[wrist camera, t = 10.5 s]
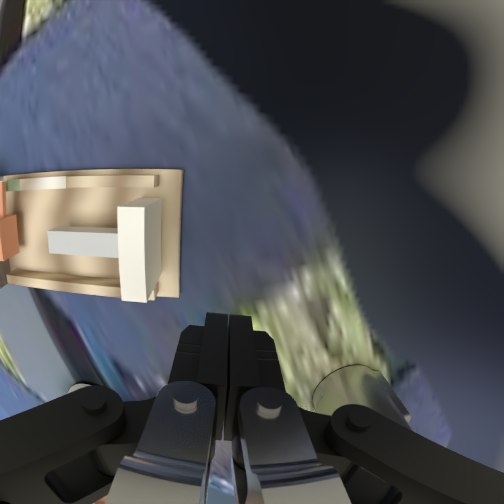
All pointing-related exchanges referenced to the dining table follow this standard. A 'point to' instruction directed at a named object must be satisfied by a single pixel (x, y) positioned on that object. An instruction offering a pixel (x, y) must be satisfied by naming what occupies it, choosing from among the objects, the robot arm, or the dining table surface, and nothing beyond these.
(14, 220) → the orange stepped bar
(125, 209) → the plunger
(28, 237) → the frame
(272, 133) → the dining table surface
